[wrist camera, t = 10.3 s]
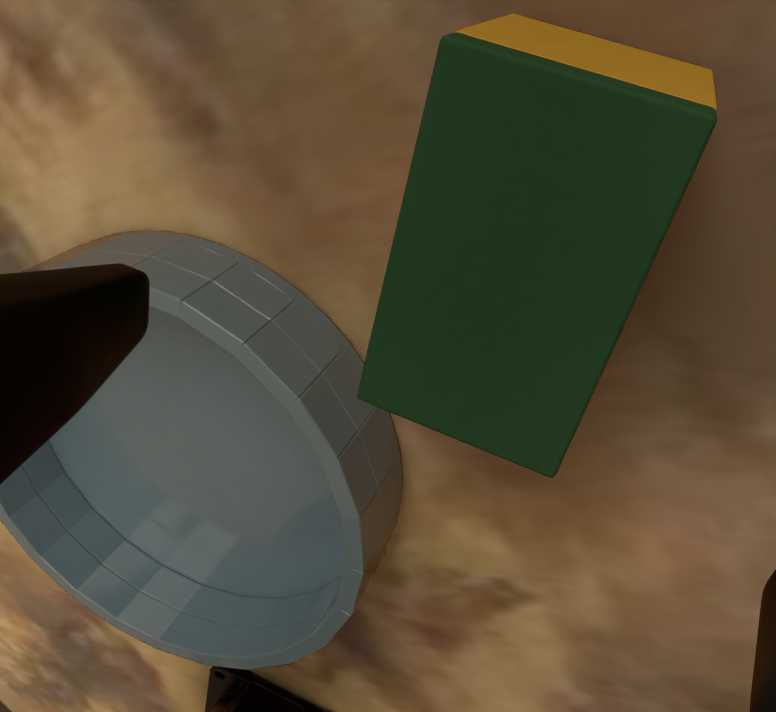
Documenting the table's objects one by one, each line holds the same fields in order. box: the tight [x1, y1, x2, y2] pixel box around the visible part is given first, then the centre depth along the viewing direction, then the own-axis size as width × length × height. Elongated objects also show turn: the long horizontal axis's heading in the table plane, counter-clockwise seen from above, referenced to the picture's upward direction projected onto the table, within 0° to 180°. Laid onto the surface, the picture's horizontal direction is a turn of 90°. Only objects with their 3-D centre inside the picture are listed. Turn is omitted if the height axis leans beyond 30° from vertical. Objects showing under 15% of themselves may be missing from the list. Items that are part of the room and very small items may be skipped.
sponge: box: [357, 14, 717, 478], centre depth 16 cm, size 8×4×6 cm, turn 167°
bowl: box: [0, 231, 402, 670], centre depth 25 cm, size 15×15×4 cm
